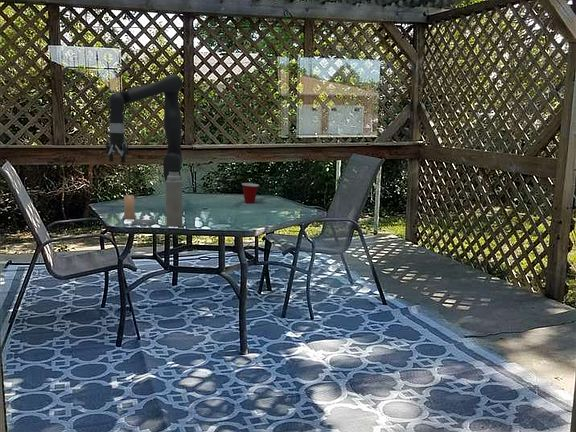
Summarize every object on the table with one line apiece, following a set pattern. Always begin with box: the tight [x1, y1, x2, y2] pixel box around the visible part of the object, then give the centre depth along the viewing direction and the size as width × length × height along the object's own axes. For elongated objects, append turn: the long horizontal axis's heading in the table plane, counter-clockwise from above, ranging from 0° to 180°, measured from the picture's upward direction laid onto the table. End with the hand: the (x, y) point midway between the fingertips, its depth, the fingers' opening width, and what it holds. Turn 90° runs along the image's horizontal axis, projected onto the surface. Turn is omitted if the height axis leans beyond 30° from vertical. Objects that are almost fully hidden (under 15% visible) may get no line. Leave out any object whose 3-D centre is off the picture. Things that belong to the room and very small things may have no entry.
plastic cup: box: [241, 182, 260, 205], centre depth 383 cm, size 11×11×12 cm
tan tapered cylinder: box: [123, 194, 136, 220], centre depth 324 cm, size 5×5×12 cm
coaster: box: [131, 219, 157, 226], centre depth 314 cm, size 12×12×1 cm
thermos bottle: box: [165, 169, 183, 228], centre depth 307 cm, size 8×8×28 cm
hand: (117, 162), depth 329 cm, fingers open, 8 cm apart
